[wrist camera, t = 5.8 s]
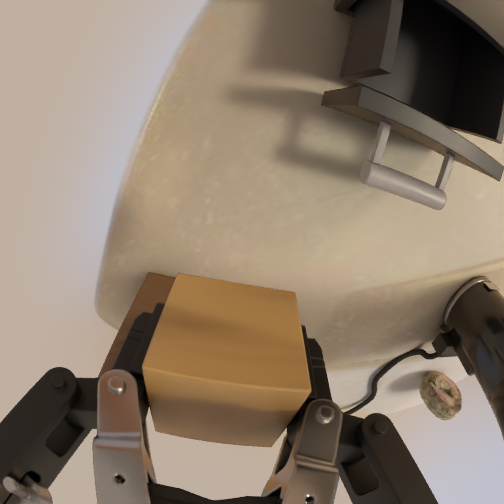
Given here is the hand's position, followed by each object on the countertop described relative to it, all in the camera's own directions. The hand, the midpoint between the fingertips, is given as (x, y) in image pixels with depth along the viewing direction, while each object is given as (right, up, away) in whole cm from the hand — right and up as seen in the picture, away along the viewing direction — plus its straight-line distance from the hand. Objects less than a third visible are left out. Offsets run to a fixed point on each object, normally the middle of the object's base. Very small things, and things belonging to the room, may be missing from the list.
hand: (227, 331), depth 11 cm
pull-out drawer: (+13, +18, +6) cm, 23 cm away
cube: (0, 0, 0) cm, 0 cm away
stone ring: (+33, -18, +27) cm, 47 cm away
